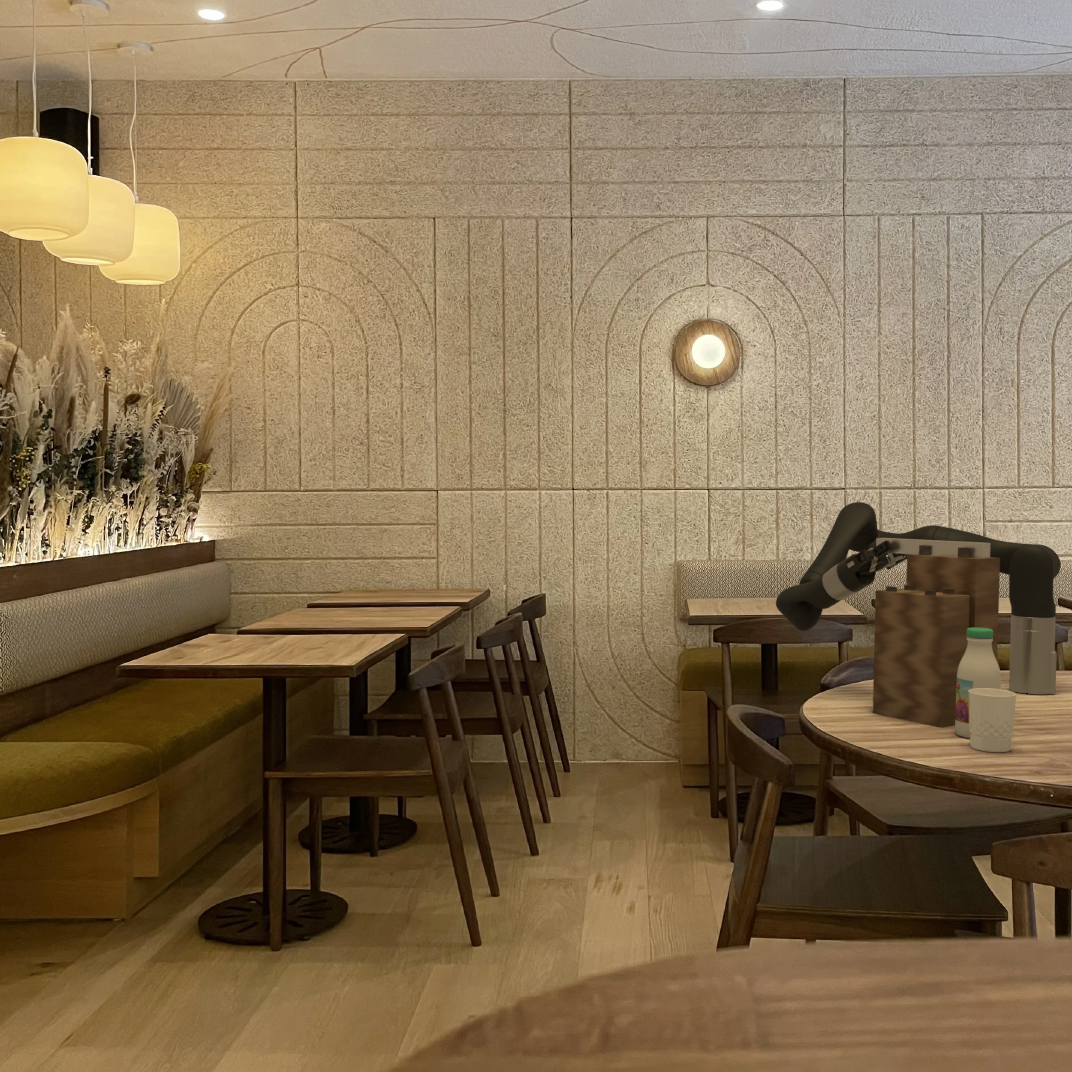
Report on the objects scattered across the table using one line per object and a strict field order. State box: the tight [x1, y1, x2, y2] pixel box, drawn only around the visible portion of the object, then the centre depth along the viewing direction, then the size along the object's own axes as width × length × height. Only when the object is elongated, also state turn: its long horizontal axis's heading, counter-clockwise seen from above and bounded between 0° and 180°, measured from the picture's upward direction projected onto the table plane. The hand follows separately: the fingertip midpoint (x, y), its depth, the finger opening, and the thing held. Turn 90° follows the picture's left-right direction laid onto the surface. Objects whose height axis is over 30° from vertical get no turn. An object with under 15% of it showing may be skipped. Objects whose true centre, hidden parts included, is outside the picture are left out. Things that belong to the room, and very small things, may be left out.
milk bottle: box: [954, 628, 1002, 739], centre depth 211 cm, size 8×8×20 cm
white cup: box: [968, 688, 1017, 753], centre depth 202 cm, size 8×8×10 cm
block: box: [876, 538, 990, 558], centre depth 236 cm, size 24×3×3 cm, turn 40°
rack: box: [872, 545, 1001, 728], centre depth 230 cm, size 16×18×34 cm
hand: (902, 543), depth 242 cm, fingers open, 8 cm apart
